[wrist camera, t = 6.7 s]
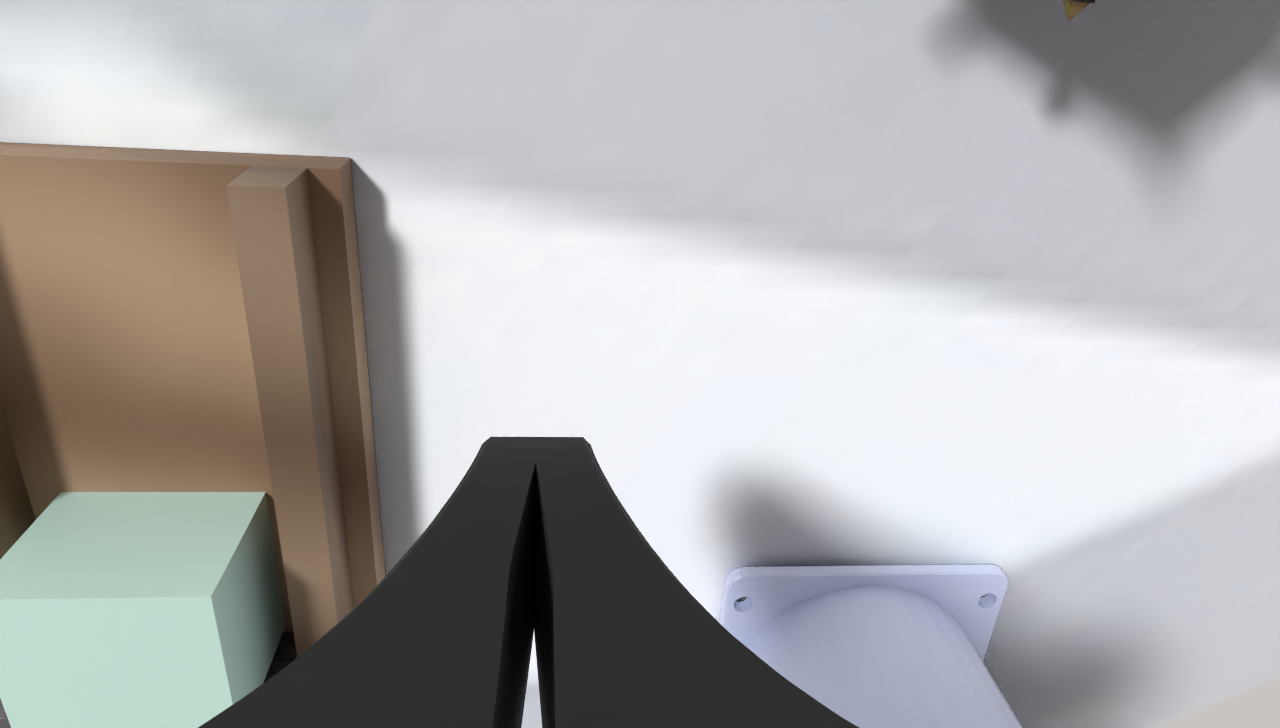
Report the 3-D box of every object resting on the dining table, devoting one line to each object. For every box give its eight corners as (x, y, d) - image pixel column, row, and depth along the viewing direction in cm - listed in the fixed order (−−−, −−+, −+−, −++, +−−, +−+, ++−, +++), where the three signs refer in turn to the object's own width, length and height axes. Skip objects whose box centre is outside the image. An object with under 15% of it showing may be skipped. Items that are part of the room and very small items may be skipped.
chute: (390, 636, 23) (365, 745, 20) (35, 643, 22) (-51, 759, 19) (349, 157, 17) (306, 204, 14) (-132, 136, 16) (-296, 181, 13)
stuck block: (286, 624, 21) (240, 741, 18) (99, 627, 21) (19, 748, 18) (265, 492, 19) (211, 596, 16) (60, 491, 19) (-36, 599, 16)
